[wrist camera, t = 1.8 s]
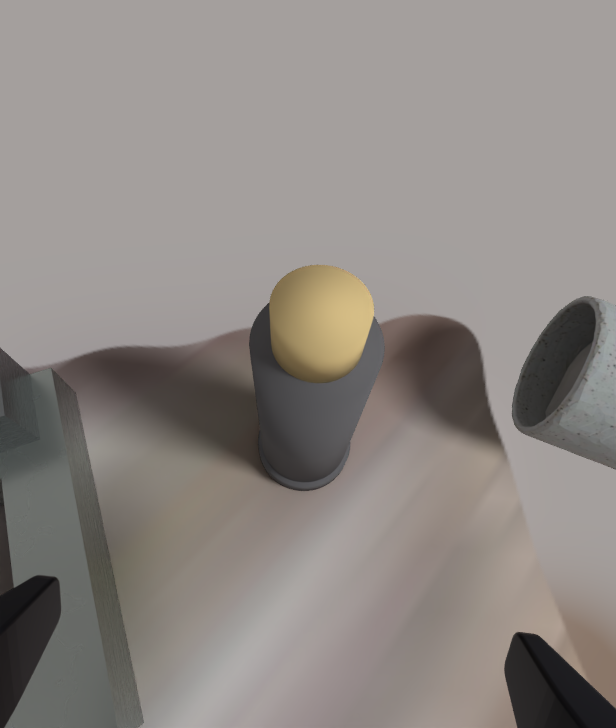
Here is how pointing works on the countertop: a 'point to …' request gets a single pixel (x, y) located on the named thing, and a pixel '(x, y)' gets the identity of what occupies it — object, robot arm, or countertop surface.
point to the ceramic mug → (572, 382)
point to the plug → (313, 372)
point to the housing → (62, 557)
